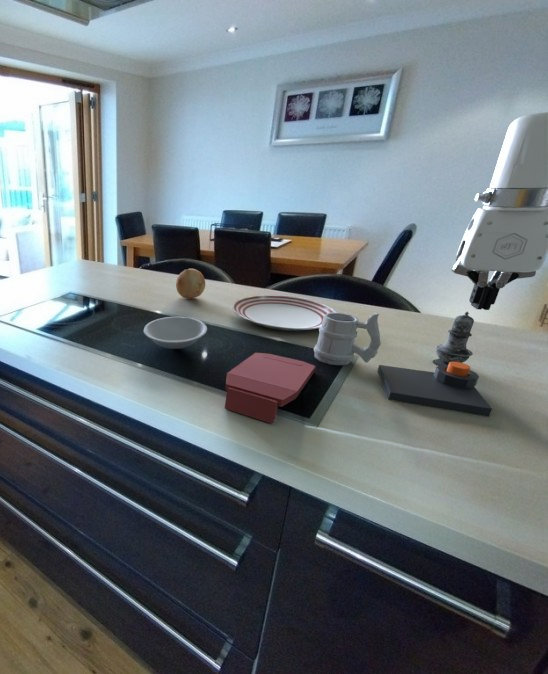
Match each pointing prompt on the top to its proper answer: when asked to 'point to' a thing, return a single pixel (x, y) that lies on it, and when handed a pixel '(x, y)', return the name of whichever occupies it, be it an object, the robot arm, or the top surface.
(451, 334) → the salt shaker
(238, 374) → the carton
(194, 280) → the onion
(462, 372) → the button
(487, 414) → the scale
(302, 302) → the dinner plate
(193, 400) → the top surface
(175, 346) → the dish
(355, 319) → the mug
